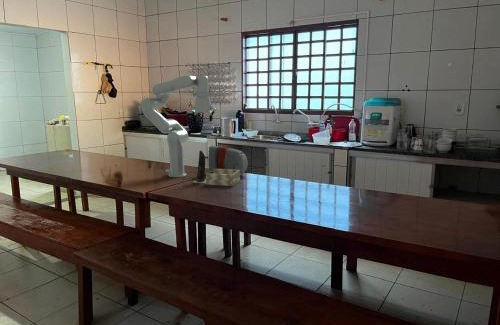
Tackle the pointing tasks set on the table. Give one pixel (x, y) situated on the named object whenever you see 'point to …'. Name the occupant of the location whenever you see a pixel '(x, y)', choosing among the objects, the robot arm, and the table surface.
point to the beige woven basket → (223, 177)
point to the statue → (201, 167)
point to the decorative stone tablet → (226, 159)
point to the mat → (199, 182)
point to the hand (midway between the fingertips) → (203, 121)
